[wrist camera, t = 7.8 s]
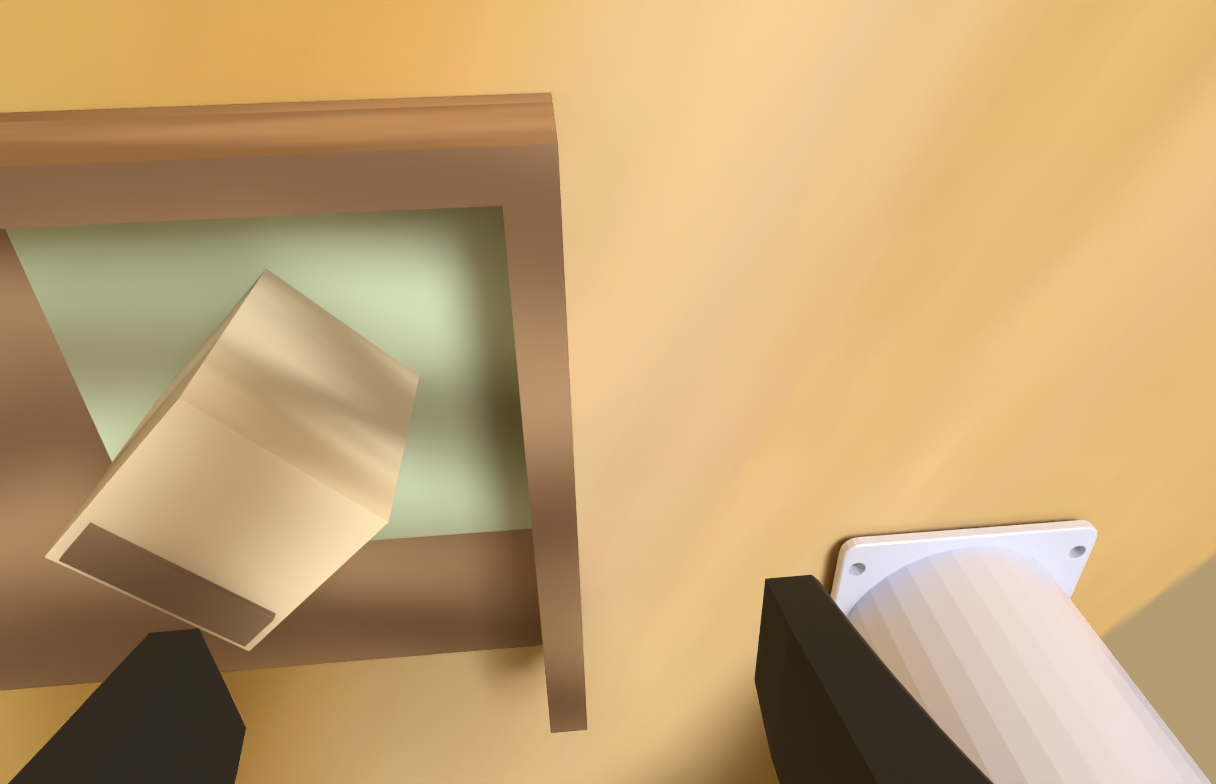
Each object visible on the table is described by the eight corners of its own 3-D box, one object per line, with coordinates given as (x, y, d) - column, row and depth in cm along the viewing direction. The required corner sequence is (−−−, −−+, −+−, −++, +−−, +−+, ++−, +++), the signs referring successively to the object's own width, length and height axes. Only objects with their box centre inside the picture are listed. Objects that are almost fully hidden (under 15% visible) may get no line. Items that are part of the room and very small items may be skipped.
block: (419, 376, 18) (387, 528, 14) (307, 489, 20) (246, 657, 15) (266, 268, 16) (175, 403, 12) (156, 401, 18) (40, 563, 14)
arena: (579, 621, 25) (587, 729, 22) (-87, 675, 23) (-183, 800, 20) (550, 92, 16) (557, 144, 13) (-513, 131, 15) (-800, 199, 12)
